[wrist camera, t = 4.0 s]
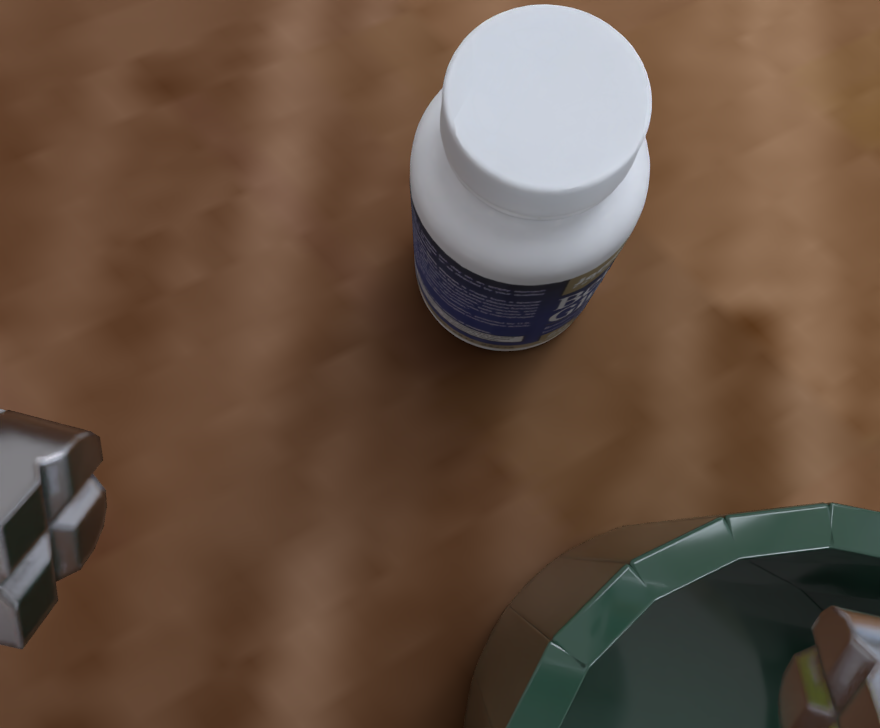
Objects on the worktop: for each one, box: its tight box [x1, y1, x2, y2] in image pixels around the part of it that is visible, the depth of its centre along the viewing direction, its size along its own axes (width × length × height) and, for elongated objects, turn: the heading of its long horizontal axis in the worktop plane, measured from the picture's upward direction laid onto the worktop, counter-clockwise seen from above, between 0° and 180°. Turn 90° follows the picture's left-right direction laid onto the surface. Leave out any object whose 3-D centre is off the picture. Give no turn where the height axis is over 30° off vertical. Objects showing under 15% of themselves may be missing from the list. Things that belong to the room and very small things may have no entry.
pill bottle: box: [410, 4, 652, 351], centre depth 20 cm, size 5×5×10 cm
